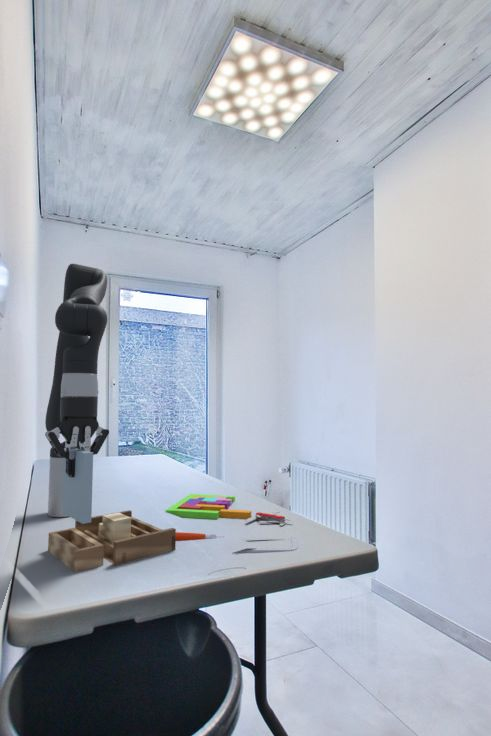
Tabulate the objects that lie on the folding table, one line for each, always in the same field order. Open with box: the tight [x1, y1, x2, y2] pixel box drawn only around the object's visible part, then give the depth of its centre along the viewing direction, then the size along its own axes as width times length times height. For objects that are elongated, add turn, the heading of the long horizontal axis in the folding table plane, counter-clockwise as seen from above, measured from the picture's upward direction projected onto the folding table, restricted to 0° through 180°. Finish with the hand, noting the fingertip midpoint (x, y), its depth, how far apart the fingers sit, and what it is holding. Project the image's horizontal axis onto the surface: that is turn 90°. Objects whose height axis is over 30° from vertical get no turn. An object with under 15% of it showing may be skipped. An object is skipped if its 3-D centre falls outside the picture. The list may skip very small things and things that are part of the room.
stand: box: [47, 527, 104, 573], centre depth 90 cm, size 16×7×5 cm, turn 42°
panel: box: [62, 448, 94, 524], centre depth 91 cm, size 12×2×14 cm, turn 42°
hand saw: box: [176, 531, 299, 554], centre depth 101 cm, size 33×3×10 cm
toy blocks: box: [165, 493, 252, 520], centre depth 136 cm, size 23×2×25 cm
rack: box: [74, 509, 177, 566], centre depth 99 cm, size 22×14×6 cm, turn 42°
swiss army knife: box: [244, 511, 293, 526], centre depth 121 cm, size 12×14×2 cm
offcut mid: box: [99, 523, 131, 542], centre depth 98 cm, size 8×4×2 cm, turn 42°
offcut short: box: [102, 512, 131, 531], centre depth 97 cm, size 6×4×2 cm, turn 42°
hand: (77, 475), depth 91 cm, fingers closed on panel, 2 cm apart
